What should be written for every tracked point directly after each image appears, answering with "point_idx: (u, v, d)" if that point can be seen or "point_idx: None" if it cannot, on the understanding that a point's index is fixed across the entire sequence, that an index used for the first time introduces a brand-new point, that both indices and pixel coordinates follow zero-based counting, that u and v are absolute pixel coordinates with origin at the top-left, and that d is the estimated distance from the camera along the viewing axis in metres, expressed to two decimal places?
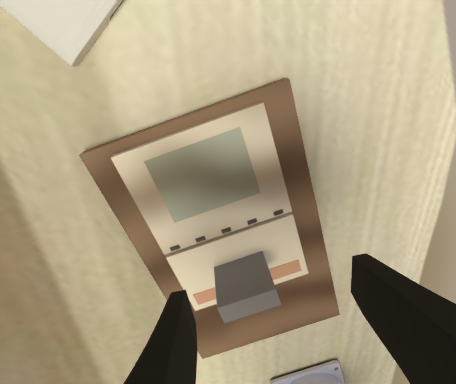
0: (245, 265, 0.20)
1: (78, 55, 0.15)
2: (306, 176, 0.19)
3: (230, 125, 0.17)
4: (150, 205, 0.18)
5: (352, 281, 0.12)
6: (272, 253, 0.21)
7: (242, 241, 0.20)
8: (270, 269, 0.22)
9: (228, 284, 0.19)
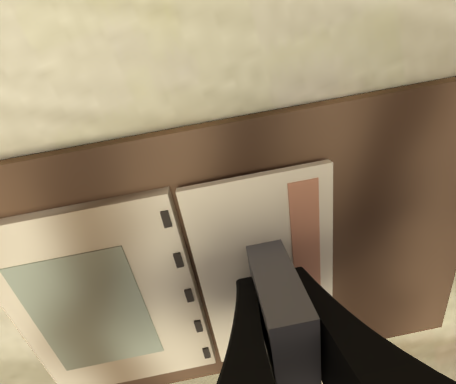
0: None
1: None
2: (104, 153, 0.10)
3: None
4: (134, 369, 0.14)
5: None
6: (257, 230, 0.11)
7: (217, 274, 0.12)
8: (292, 234, 0.11)
9: (265, 343, 0.10)
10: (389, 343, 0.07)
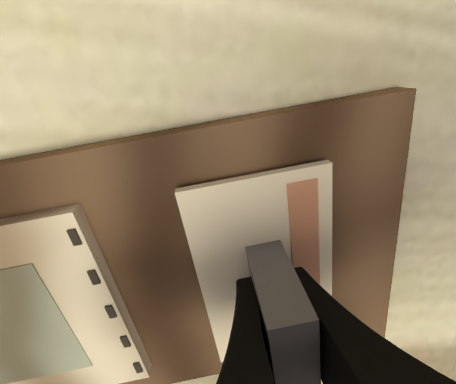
0: None
1: None
2: (7, 171, 0.10)
3: None
4: None
5: None
6: (256, 230, 0.11)
7: (216, 274, 0.12)
8: (291, 235, 0.11)
9: None
10: (389, 343, 0.07)
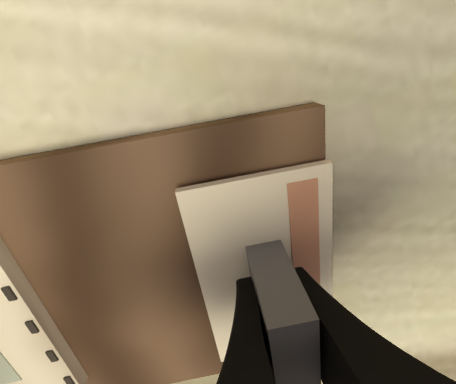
0: None
1: None
2: None
3: None
4: None
5: None
6: (256, 230, 0.11)
7: (216, 274, 0.12)
8: (292, 235, 0.11)
9: (265, 344, 0.10)
10: (389, 343, 0.07)
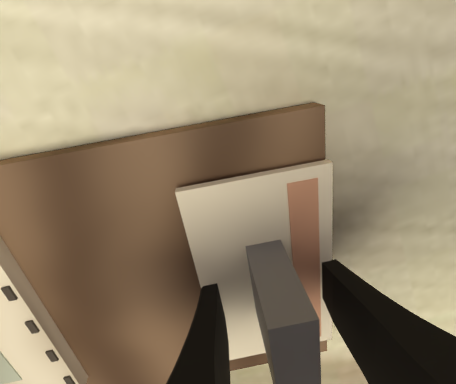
0: (254, 290, 0.11)
1: None
2: None
3: None
4: None
5: (323, 287, 0.12)
6: (256, 230, 0.11)
7: (216, 274, 0.12)
8: (292, 235, 0.11)
9: (265, 343, 0.10)
10: (444, 332, 0.07)
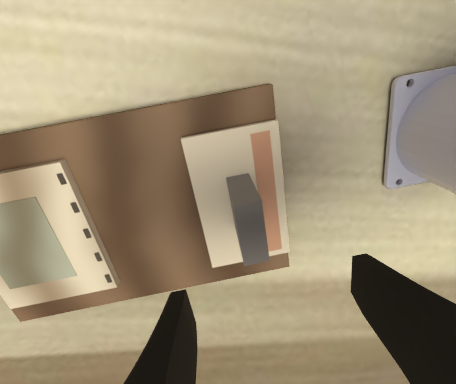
0: (231, 205, 0.17)
1: None
2: (19, 137, 0.16)
3: None
4: (58, 290, 0.20)
5: (352, 281, 0.12)
6: (232, 166, 0.17)
7: (207, 197, 0.18)
8: (256, 169, 0.17)
9: (237, 235, 0.17)
10: None
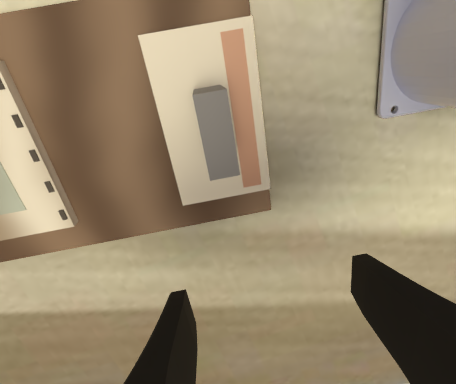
0: None
1: None
2: None
3: None
4: (6, 228, 0.17)
5: (352, 281, 0.12)
6: (201, 75, 0.15)
7: (173, 115, 0.16)
8: (228, 80, 0.15)
9: None
10: None
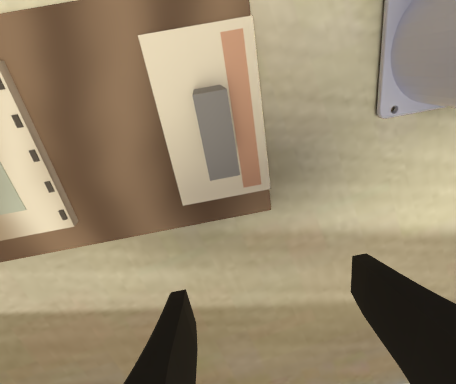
0: None
1: None
2: None
3: None
4: (6, 228, 0.17)
5: (352, 281, 0.12)
6: (201, 75, 0.15)
7: (173, 115, 0.16)
8: (228, 80, 0.15)
9: None
10: None
